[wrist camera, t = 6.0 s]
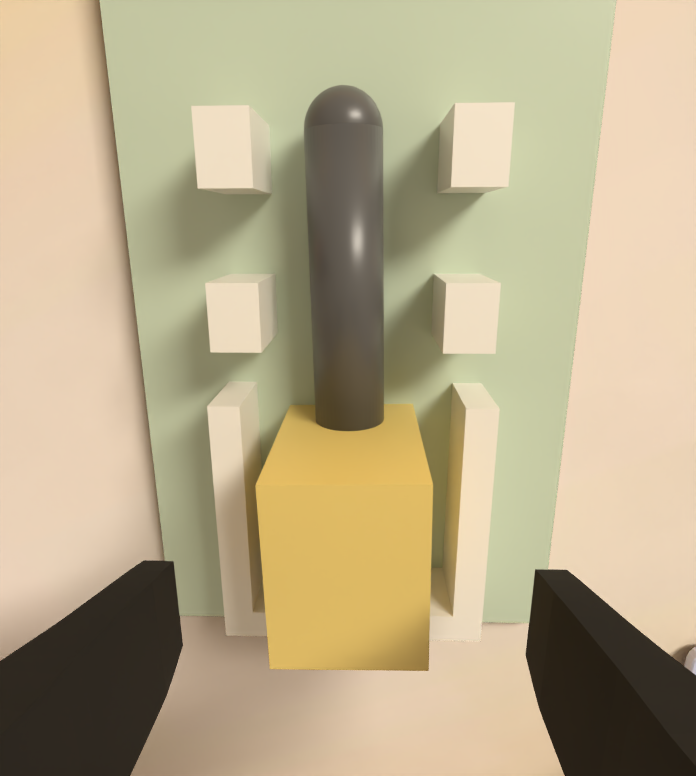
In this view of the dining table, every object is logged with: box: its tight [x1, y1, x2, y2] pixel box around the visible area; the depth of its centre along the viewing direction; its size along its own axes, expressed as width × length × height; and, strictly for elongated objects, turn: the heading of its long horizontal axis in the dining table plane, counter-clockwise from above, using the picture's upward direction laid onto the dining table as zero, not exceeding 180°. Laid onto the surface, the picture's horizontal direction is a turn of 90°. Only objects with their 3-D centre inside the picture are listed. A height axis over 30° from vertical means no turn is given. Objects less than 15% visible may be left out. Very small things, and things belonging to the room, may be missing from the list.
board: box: [99, 0, 616, 641], centre depth 14 cm, size 20×12×3 cm, turn 0°
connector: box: [255, 85, 433, 671], centre depth 13 cm, size 12×4×5 cm, turn 1°
